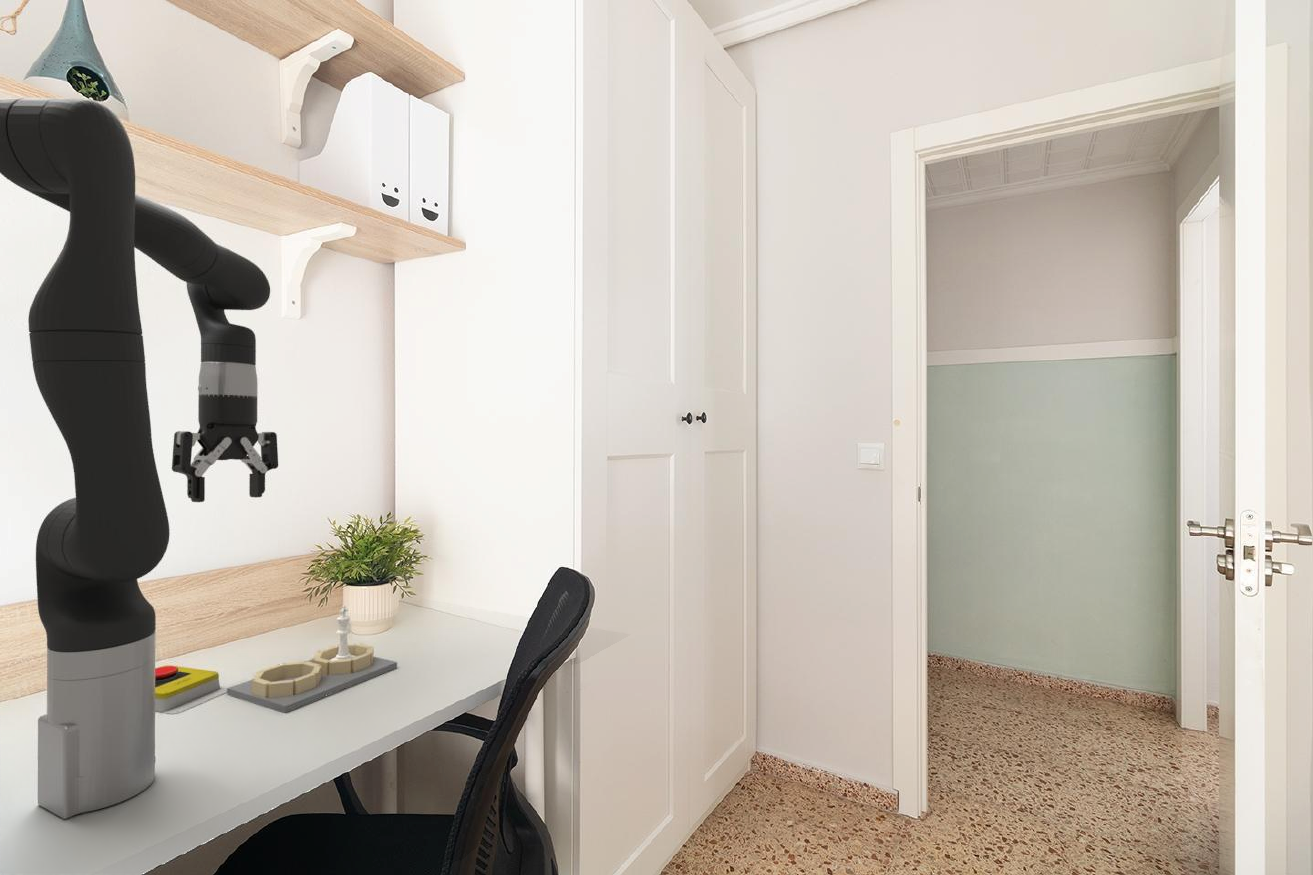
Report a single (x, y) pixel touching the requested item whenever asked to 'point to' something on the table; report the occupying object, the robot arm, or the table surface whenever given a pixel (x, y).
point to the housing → (310, 678)
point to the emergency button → (184, 688)
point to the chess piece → (343, 636)
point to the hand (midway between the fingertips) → (228, 499)
